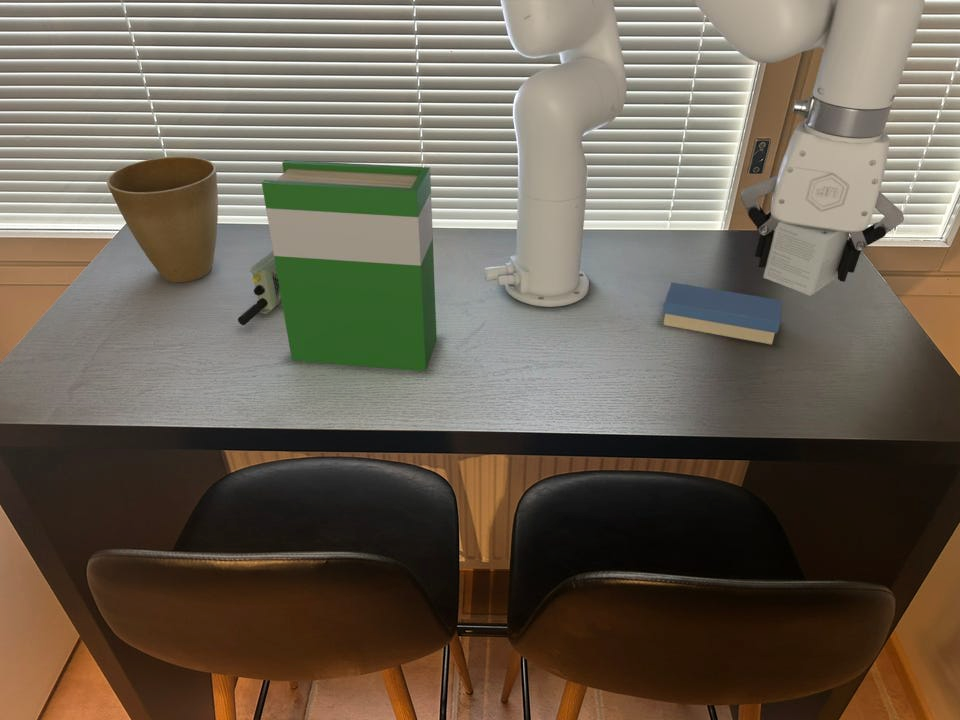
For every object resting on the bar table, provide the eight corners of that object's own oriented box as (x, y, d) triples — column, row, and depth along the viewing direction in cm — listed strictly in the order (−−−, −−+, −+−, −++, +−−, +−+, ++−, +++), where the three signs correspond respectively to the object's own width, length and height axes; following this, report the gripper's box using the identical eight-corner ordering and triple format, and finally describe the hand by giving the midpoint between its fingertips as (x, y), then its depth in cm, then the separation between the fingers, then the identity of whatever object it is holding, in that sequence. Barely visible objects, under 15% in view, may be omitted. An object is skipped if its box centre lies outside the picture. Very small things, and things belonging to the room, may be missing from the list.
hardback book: (291, 360, 98) (261, 183, 84) (310, 330, 104) (284, 160, 90) (425, 371, 96) (417, 191, 82) (436, 339, 102) (430, 167, 88)
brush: (660, 325, 105) (664, 302, 103) (667, 305, 110) (671, 281, 108) (774, 346, 101) (780, 321, 99) (776, 323, 105) (782, 300, 103)
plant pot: (248, 251, 124) (230, 156, 115) (214, 297, 112) (191, 194, 102) (160, 248, 125) (135, 153, 116) (117, 292, 113) (85, 190, 103)
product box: (835, 280, 88) (855, 222, 84) (809, 298, 85) (828, 238, 80) (787, 261, 92) (803, 205, 87) (760, 277, 88) (776, 219, 84)
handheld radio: (339, 253, 123) (254, 331, 104) (321, 251, 124) (233, 328, 105) (333, 215, 119) (244, 288, 100) (315, 213, 120) (222, 285, 101)
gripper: (755, 117, 77) (720, 270, 87) (945, 140, 72) (885, 299, 82) (759, 97, 82) (726, 242, 93) (935, 117, 78) (880, 268, 88)
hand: (801, 268), depth 87 cm, fingers closed on product box, 8 cm apart
